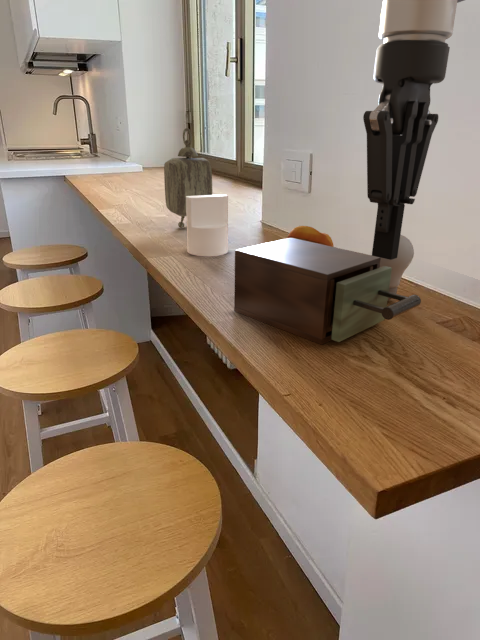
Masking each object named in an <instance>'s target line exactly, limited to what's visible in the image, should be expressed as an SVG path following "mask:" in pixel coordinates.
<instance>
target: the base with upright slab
mask: <svg viewBox="0 0 480 640" xmlns="http://www.w3.org/2000/svg"><path fill="white" fill-rule="evenodd" d="M186 215H187V216H186V245H187V246H186V248H187V249H186V251H187V253H188V254H190V255H192V256H198V257H217V256H223V255H226V254H227V253H228V252H229V195H227V194H223V193H221V194H219V193H218V194H212V195H197V196H186Z"/></svg>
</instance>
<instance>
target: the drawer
mask: <svg viewBox="0 0 480 640" xmlns="http://www.w3.org/2000/svg"><path fill="white" fill-rule="evenodd" d="M391 271H392V268H391V267H387V266H383V267H380V268H377V269H375V270H373V266H369V267H366V268H363V269H360V270H357V271H354V272H351V273H348V274H345V275H342V276H339V277H336V278H333V279H330V291H329V303H328V314H327V325H326V333H327V332H329V331H332V338H331V339H332V340H331V341H334V342H337V343H340V342H342V341H345V340H346V339H349V338H350V337H353V336H355V335H357V334H359V333H361V332H363V331H365V330H367V329H369V328H372V327H373V326H375V325H377V324H380V323H381V322H384V321H385V320H386V321H390V320H393V319H395V318H397V317H399V316H401V315H403V314H405V313H407V312H409V311H411V310H413V309H415V308H418V307H419V306H420V305H421V303H422V299H421V297H420V296H419V295H417V294H411V295H409V296H406V295H401V294H399V293H396V294H395V293H391V292H389V286H390V278H391ZM388 297H389V298H392V299H393V300H397V301H396V302H394V303H392V304H389V305H388V301H389V300H388ZM392 299H391V300H392Z"/></svg>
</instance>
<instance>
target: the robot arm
mask: <svg viewBox="0 0 480 640" xmlns="http://www.w3.org/2000/svg"><path fill="white" fill-rule="evenodd" d="M463 1H465V0H382V3H381V4H382V6H381V12H380V14H379V19H380V21H379V29H378V38H379V39H380V40H381V41H383V43H380V44H379V45H378V47H377V48H376V50H375V51H376V53H375V60H374V69H373V81H374V82H375V83H377V84H382V88H381V91H380V94H379V96H378V105H377V106H376V108H375V109H374V110H365V112H364V113H363V117H362V118H363V119H362V120H363V124H364V128H365V132H366V186H367V187H366V188H367V189H366V193H367V199H369V202H370V203H373V204H377V208H376V209H377V211H376V217H375V226H374V234H373V240H372V241H373V242H372V250H371V255H372V256H376V257H380V258H385V259H389V260H392V259H395V258H397V255H398V248H399V241H400V235H402V226H403V220H404V214H405V207H406V205H413V204H414V203H415V202H416V201H415V200H416V198H414V197H416V196H417V194H418V190H419V186H420V182H421V178H422V174H423V170H424V167H425V163H426V159H427V155H428V152H429V147H430V144H431V141H432V136H433V134H434V131H435V128H436V127H437V125H438V122H439V114H438V113H432V112H431V111H430V105H431V86H432V85H433V84H434V85H435V84H436V85H437V84H440V83H443V81H444V80H445V78H446V74H447V67H448V62H449V55H450V46H449V44H448V43H447V42H446V40H448V39H450V38H451V37H452V36H453V34H454V26H455V19H456V14H457V7H458V6H457V5H458V4H459V3H461V2H463ZM405 204H406V205H405Z"/></svg>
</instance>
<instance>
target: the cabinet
mask: <svg viewBox="0 0 480 640" xmlns="http://www.w3.org/2000/svg"><path fill="white" fill-rule="evenodd" d="M380 261H381V258H380V257H376V256H372V254H367V253H363V252H358V251H355V250H348V249H345V248H340V247H337V246H336V247H335V246H334V247H331V246H327V245H322V244H318V243H313V242H309V241H304V240H299V239H295V238H287V237H286V238H282V239H278V240H274V241H269V242H263V243H260V244H255V245H250V246H246V247H242V248H237V249H235V250H234V295H233V300H234V302H233V303H234V305H233V311H234V313H235V312H236V313H238V314H241V315H243V316H246V317H248V318H251V319H254V320H256V321H259V322H261V323H264V324H267V325H268V326H269V325H270V326H272V327H274V328H277V329H280V330H283V331H284V332H288V333H290V334H292V335H295V336H298V337H300V338H303V339H305V340H307V341H310V342H313V343H315V344H318V345H321V346H322V345H324V344H326V343H328V342H330V341H333V340H332V339H331V338H332V331H329V332H327V333H326V325H327V314H328V303H329V291H330V279H333V278H336V277H339V276H342V275H345V274H348V273H351V272H354V271H357V270H360V269H363V268H366V267H369V266H373V270H375V269H377V268H380Z"/></svg>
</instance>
